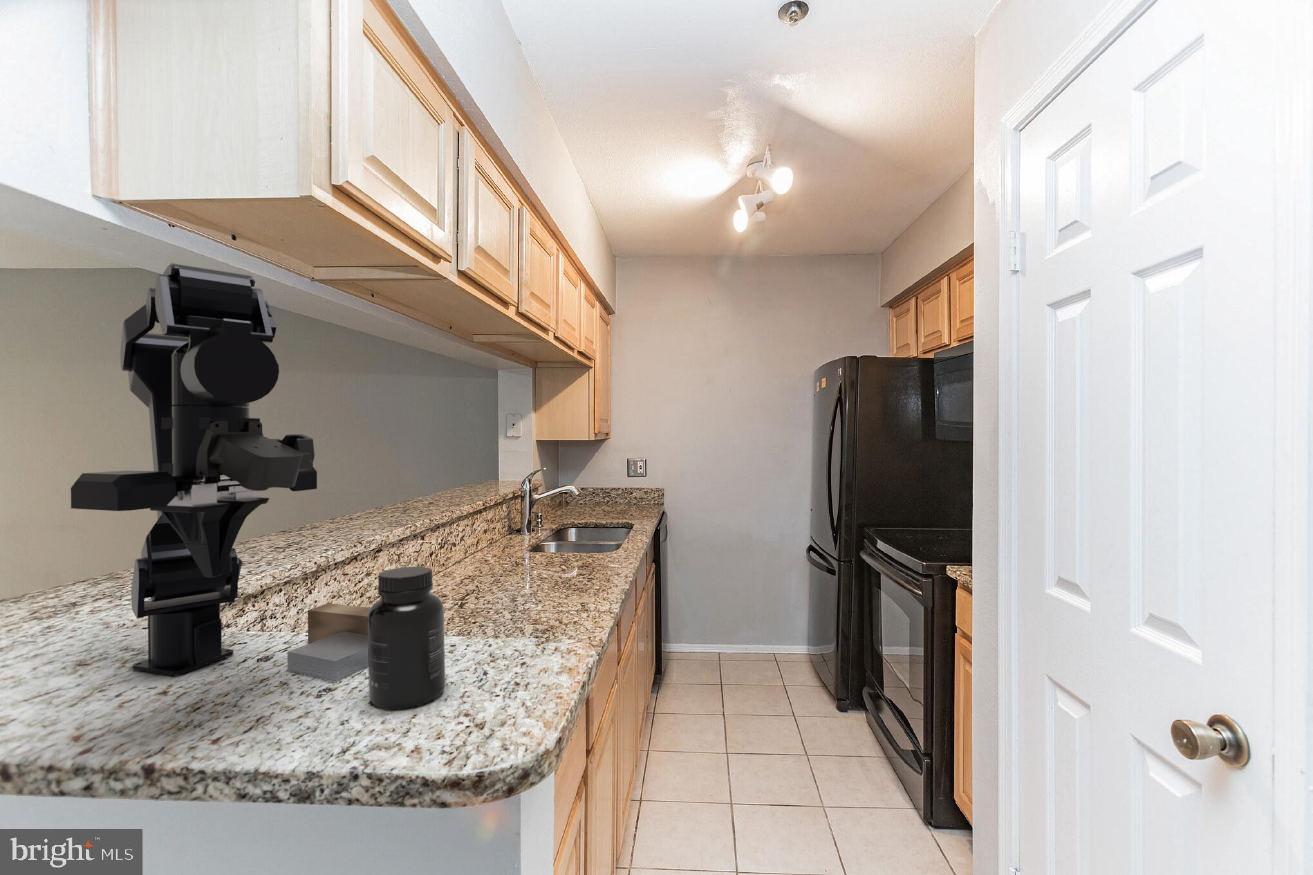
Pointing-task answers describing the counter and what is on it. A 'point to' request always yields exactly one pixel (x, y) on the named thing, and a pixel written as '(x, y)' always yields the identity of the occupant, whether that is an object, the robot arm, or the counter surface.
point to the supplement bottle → (405, 640)
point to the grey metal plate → (331, 656)
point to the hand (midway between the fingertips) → (212, 576)
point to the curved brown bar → (336, 620)
